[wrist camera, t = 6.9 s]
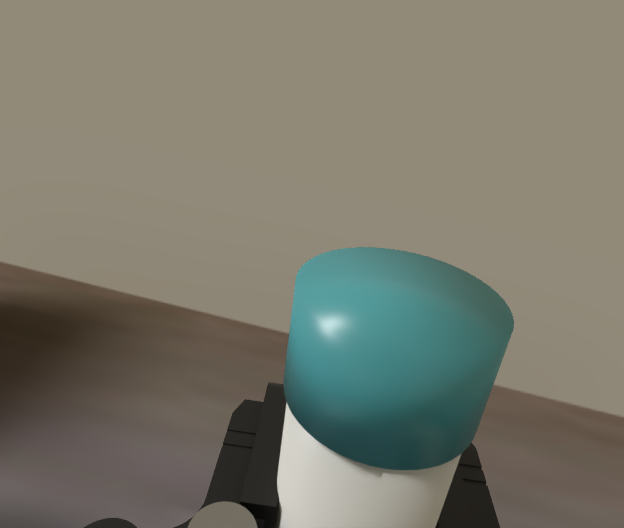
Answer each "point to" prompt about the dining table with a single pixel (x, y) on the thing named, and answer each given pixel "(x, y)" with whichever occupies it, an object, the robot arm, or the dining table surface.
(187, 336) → the dining table surface
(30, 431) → the dining table surface
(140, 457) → the dining table surface
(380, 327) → the marker
